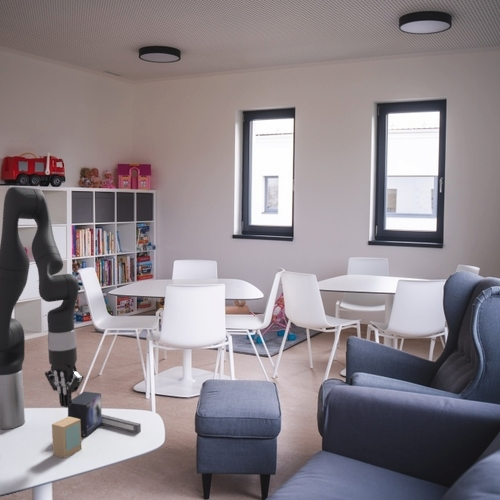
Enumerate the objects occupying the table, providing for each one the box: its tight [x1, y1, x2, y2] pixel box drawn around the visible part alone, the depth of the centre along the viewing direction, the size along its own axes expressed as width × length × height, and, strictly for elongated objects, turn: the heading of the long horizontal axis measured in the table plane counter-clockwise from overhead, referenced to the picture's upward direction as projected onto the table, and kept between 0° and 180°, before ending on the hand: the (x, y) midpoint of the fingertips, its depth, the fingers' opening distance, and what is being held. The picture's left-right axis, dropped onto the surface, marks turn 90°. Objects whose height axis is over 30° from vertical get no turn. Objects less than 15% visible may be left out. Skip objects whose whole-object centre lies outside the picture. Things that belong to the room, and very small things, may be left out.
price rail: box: [101, 413, 142, 434], centre depth 206 cm, size 22×2×2 cm, turn 60°
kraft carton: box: [51, 416, 82, 459], centre depth 187 cm, size 5×6×9 cm
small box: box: [67, 391, 103, 438], centre depth 202 cm, size 11×6×10 cm, turn 166°
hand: (65, 405), depth 186 cm, fingers closed
